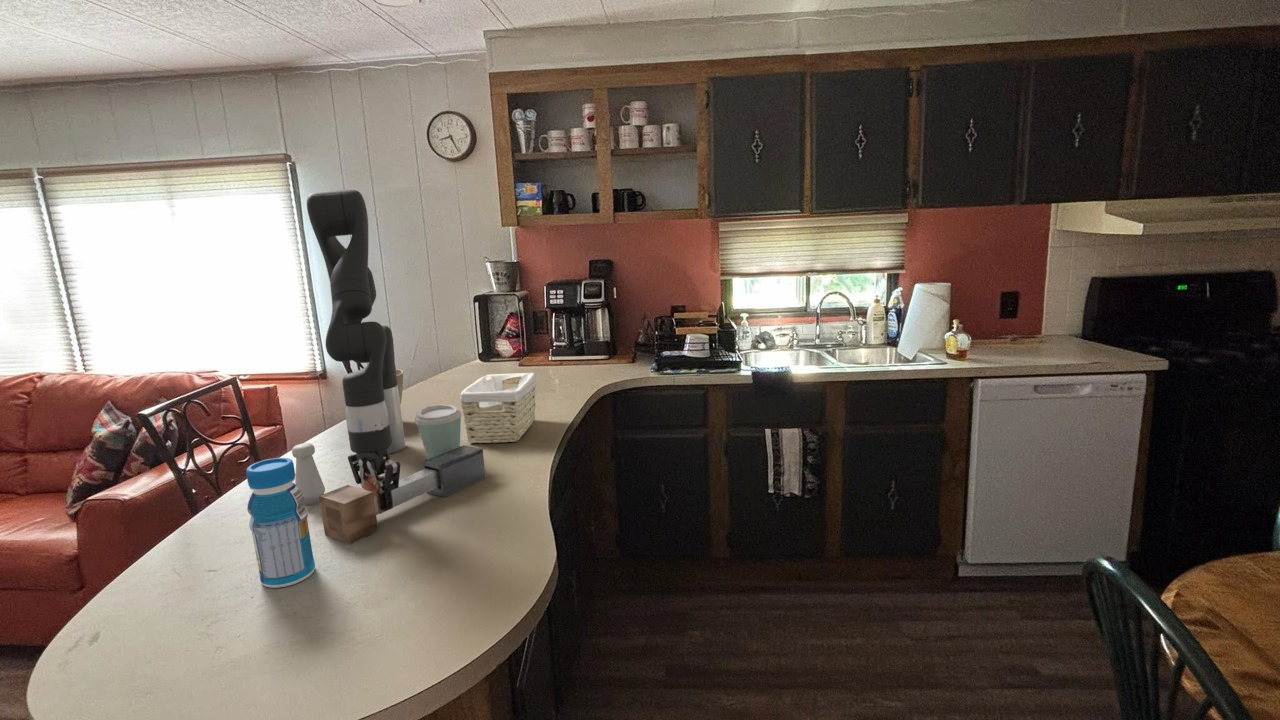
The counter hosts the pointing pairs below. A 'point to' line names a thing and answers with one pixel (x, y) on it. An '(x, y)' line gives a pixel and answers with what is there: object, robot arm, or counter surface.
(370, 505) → the cardboard box
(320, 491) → the salt shaker
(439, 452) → the disposable coffee cup
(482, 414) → the storage basket
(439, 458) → the sleeve
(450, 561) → the counter surface
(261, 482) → the beverage bottle
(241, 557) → the counter surface
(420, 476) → the grey square bar
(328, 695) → the counter surface
